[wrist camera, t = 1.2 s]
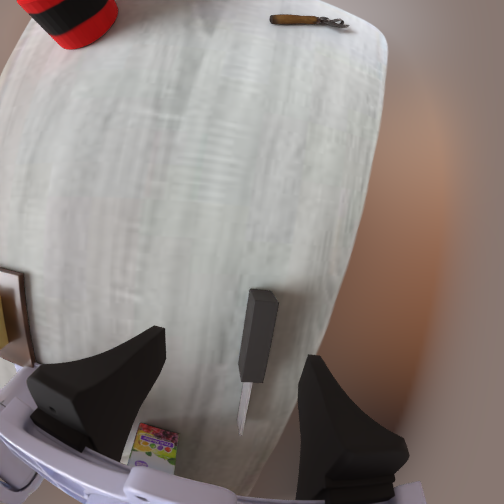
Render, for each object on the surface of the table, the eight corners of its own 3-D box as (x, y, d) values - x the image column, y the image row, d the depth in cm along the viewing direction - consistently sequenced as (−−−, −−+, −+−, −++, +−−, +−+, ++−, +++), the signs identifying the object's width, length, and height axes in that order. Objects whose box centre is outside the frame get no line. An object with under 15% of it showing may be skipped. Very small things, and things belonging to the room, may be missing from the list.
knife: (249, 288, 25) (254, 300, 22) (271, 290, 25) (279, 302, 22) (229, 419, 27) (231, 438, 24) (246, 419, 27) (250, 438, 24)
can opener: (271, 25, 20) (271, 16, 19) (266, 19, 21) (267, 11, 20) (352, 31, 21) (354, 23, 20) (344, 24, 22) (345, 16, 21)
